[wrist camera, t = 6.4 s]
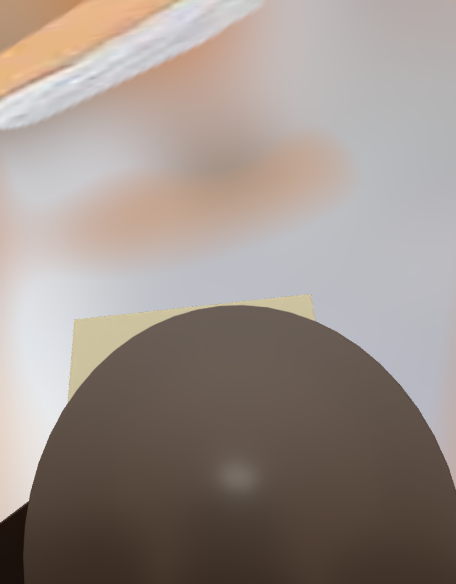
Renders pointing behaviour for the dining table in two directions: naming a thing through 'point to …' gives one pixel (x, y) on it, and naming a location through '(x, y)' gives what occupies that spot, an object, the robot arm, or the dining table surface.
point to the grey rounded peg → (241, 464)
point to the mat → (120, 328)
